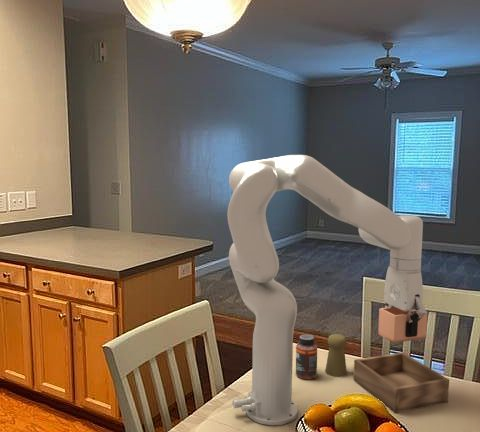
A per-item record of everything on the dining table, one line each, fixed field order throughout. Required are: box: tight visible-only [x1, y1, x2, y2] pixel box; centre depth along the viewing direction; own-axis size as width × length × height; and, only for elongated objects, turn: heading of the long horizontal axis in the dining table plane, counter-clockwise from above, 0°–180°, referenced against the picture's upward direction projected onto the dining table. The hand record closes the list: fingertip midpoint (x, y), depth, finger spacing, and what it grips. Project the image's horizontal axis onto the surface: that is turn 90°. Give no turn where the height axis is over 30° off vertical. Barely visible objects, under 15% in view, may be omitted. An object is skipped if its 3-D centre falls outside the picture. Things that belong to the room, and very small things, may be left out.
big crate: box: [353, 352, 450, 414], centre depth 128 cm, size 16×18×6 cm
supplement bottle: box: [295, 334, 318, 380], centre depth 136 cm, size 6×6×11 cm
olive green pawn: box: [324, 333, 348, 378], centre depth 138 cm, size 6×6×11 cm
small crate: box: [377, 307, 428, 344], centre depth 126 cm, size 10×6×7 cm, turn 109°
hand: (402, 330), depth 126 cm, fingers closed on small crate, 6 cm apart
